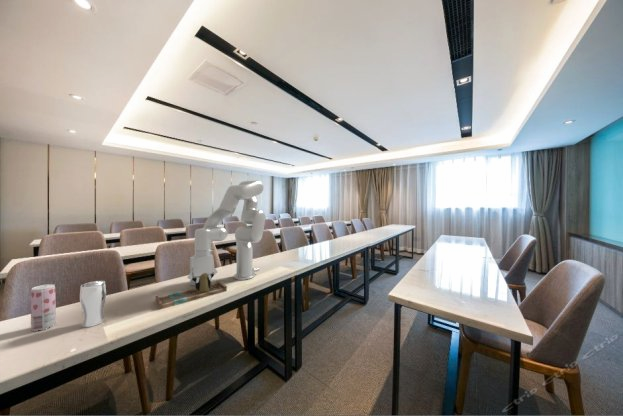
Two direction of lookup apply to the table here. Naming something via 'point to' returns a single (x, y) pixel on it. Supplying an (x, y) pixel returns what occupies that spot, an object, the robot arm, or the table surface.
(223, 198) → the robot arm
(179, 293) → the brown wooden tray
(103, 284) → the beer glass
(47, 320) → the beverage can
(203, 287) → the cork
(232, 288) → the table surface
